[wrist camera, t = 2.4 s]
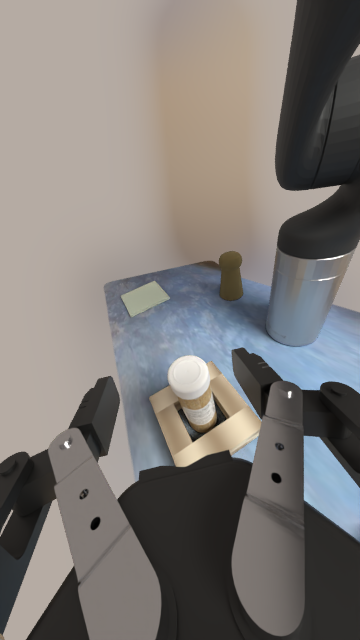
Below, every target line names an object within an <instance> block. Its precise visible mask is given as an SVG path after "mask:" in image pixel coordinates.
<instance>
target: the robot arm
mask: <svg viewBox="0 0 360 640" xmlns="http://www.w3.org/2000/svg"><path fill="white" fill-rule="evenodd" d="M359 44H360V0H297V6H296V13H295V21H294V29H293V35H292V42H291V48H290V55H289V62H288V69H287V75H286V82H285V88H284V95H283V102H282V108H281V114H280V121H279V128H278V134H277V142H276V155H275V169H276V176H277V180H278V182H279V184H280V186H281V187H282V188H284V189H286V190H292V191H295V190H297V191H299V190H308V189H316V188H322V187H330V186H337V185H341V186H340V187H339V189H338V190H337V191H336V192H335V193H334V194H333V195H332V196H331V197H329V198H328V199H327V200H325V201H324V202H322V203H320V204H319V205H317V206H315V207H313V208H311V209H309V210H307V211H305V212H302V213H300V214H298V215H296V216H293V217H292V218H290V219H288V220H287V221H285V222H284V224H283V225H282V226H281V228H280V230H279V235H278V242H277V249H276V256H275V264H274V271H273V279H272V286H271V293H270V300H269V307H268V314H267V321H266V330H267V332H268V334H269V335H270V336H271V337H272V338H273V339H275V340H276V341H278V342H280V343H282V344H285V345H289V346H305V345H308V344H311V343H313V342H314V341H315V340H316V339H317V338H318V336H319V333H320V331H321V329H322V326H323V324H324V322H325V320H326V317H327V315H328V313H329V310H330V308H331V306H332V303H333V301H334V299H335V296H336V294H337V292H338V289H339V287H340V285H341V282H342V280H343V278H344V275H345V273H346V271H347V268H348V266H349V263H350V261H351V258H352V256H353V254H354V251H355V249H356V246H357V244H358V242H359V240H360V55H358V56H355V57H352V58H351V56H352V55H353V53H354V51H355V50H356V48H357V47H358V45H359ZM232 362H233V371H234V375H235V377H236V379H237V381H238V383H239V384H240V386H241V387H242V389H243V391H244V392H245V394H246V396H247V397H248V399H249V400H250V402H251V404H252V405H253V407H254V409H255V410H256V412H257V414H258V415H259V417H260V418H261V419H262V422H261V427H260V432H259V437H258V442H257V446H256V451H255V456H254V461H253V463H251V462H249V461H247V460H244V459H240V458H232V457H231V454H230V451H229V450H225V451H221V452H217V453H213V454H209V455H206V456H204V457H203V458H201V459H199V460H197V461H195V462H194V463H192V464H190V465H188V466H186V467H176V466H159V467H155V468H151V469H147V470H143V471H140V473H139V481H137V482H135V483H134V484H132V485H131V486H130V487H129V488H128V489H126V490H125V492H123V493H122V495H121V496H120V497H119V498H118V499H116V497H115V495H114V494H113V492H112V490H111V488H110V486H109V484H108V482H107V480H106V479H105V477H104V475H103V473H102V471H101V470H100V467H99V465H98V459H99V457H101V456H106V455H107V454H108V450H109V446H110V442H111V438H112V433H113V429H114V425H115V421H116V417H117V413H118V409H119V404H120V398H119V393H118V391H117V388H116V386H115V383H114V381H113V378H112V377H111V376H108V377H104V378H100V379H98V380H97V383H96V385H95V387H94V388H91V389H90V390H89V391H88V392H87V393H86V394H85V396H84V398H83V400H82V403H81V404H80V406H79V409H78V410H77V412H76V414H75V416H74V418H73V420H72V422H71V424H70V426H69V428H68V430H66V431H64V432H62V433H61V434H59V435H58V436H57V437H56V438H55V439H54V440H53V441H52V443H51V444H50V446H49V449H47V450H45V451H43V452H41V453H39V454H36V455H35V456H32V457H30V456H29V455H28V453H26V452H19V453H16V454H14V455H12V456H10V457H8V458H7V459H6V460H4V461H3V462H2V463H1V464H0V532H1V529H2V527H3V525H4V523H5V521H6V519H7V517H8V515H9V514H10V512H11V510H13V513H12V515H11V517H10V519H9V521H8V523H7V525H6V527H5V529H4V531H3V533H2V535H1V537H0V640H4V637H3V636H2V635H3V632H4V630H5V627H6V624H7V622H8V619H9V616H10V614H11V611H12V608H13V605H14V603H15V600H16V597H17V595H18V592H19V589H20V586H21V584H22V581H23V579H24V575H25V573H26V570H27V568H28V565H29V562H30V560H31V557H32V554H33V552H34V549H35V546H36V543H37V541H38V538H39V535H40V533H41V530H42V527H43V524H44V522H45V519H46V517H47V514H48V511H49V508H50V506H51V503H52V501H53V500H54V499H56V498H57V501H58V505H59V509H60V513H61V516H62V520H63V524H64V528H65V532H66V535H67V539H68V543H69V547H70V551H71V555H72V558H73V562H74V567H73V568H72V570H71V571H70V573H69V574H68V576H67V577H66V579H65V581H64V582H63V583H62V585H61V587H60V588H59V590H58V591H57V593H56V594H55V596H54V597H53V599H52V600H51V602H50V603H49V605H48V607H47V608H46V610H45V611H44V613H43V614H42V616H41V617H40V619H39V620H38V622H37V624H36V625H35V627H34V628H33V630H32V631H31V633H30V634H29V636H28V638H27V639H26V640H360V542H359V541H358V540H356V539H355V538H354V537H352V536H351V535H350V534H348V533H347V532H346V531H344V530H343V529H342V528H340V527H339V526H338V525H336V524H335V523H334V522H332V521H331V520H330V519H328V518H327V517H326V516H324V515H323V514H322V513H320V512H319V511H318V510H316V509H315V508H314V507H312V506H311V505H310V504H308V503H307V502H306V501H304V436H315V437H320V438H321V440H322V441H323V442H324V443H325V445H326V446H327V447H328V448H329V450H330V451H331V452H332V454H333V455H334V456H335V457H336V459H337V460H338V461H339V462H340V464H341V465H342V466H343V467H344V469H345V470H346V471H347V472H348V474H349V475H350V476H351V478H352V479H353V480H354V481H355V483H356V484H357V485H358V486H359V488H360V394H359V393H358V392H357V391H355V390H354V389H353V388H351V387H349V386H347V385H345V384H342V383H339V382H325V383H323V384H322V385H321V387H320V390H301V389H300V388H299V387H298V386H297V385H295V384H294V383H291V382H288V381H283V380H282V378H281V377H280V376H279V375H278V374H277V373H276V372H275V371H274V370H273V369H272V368H271V367H269V365H268V364H267V363H265V361H264V360H263V359H262V358H261V357H260V356H258V355H256V354H254V353H252V354H249V353H248V352H247V351H246V350H245V348H239V349H234V350H232Z"/></svg>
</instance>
